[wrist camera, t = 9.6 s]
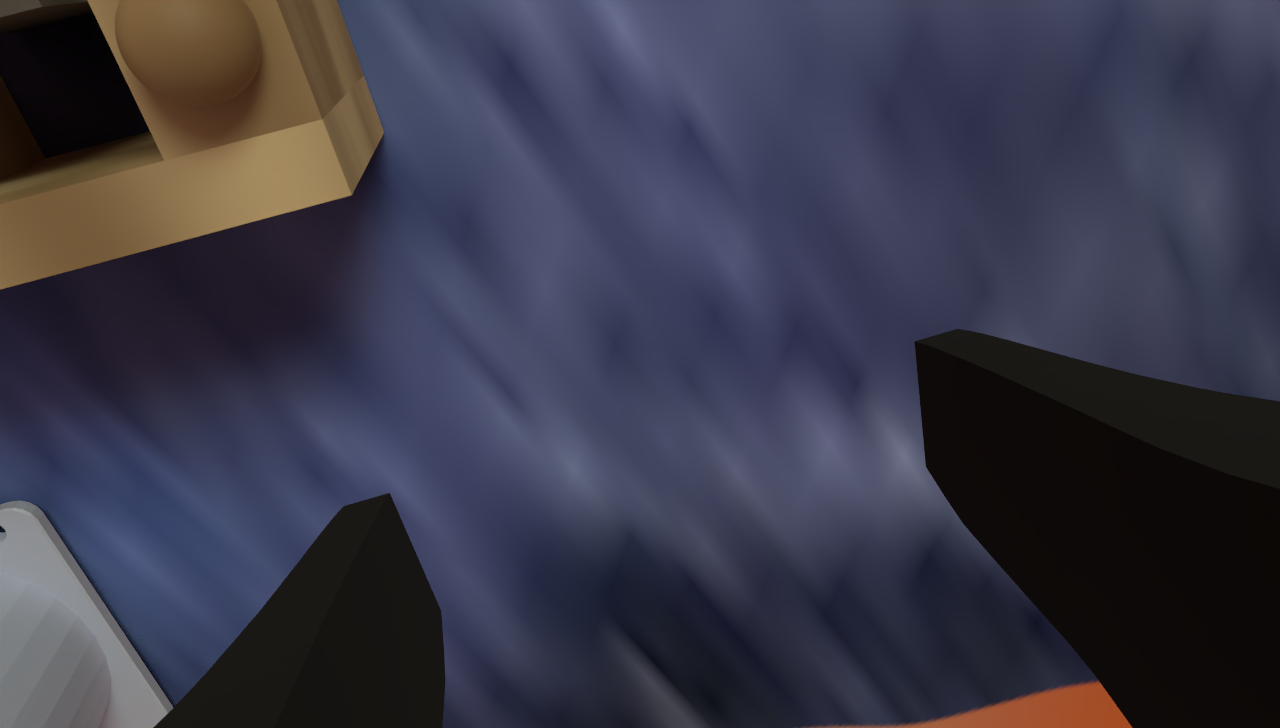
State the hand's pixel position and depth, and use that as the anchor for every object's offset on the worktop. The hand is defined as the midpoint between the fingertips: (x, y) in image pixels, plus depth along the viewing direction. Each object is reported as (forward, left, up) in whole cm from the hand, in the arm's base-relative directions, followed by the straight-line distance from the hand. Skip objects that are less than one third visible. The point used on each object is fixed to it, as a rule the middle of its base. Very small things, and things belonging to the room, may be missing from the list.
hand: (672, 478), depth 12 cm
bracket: (-8, +7, -10) cm, 14 cm away
